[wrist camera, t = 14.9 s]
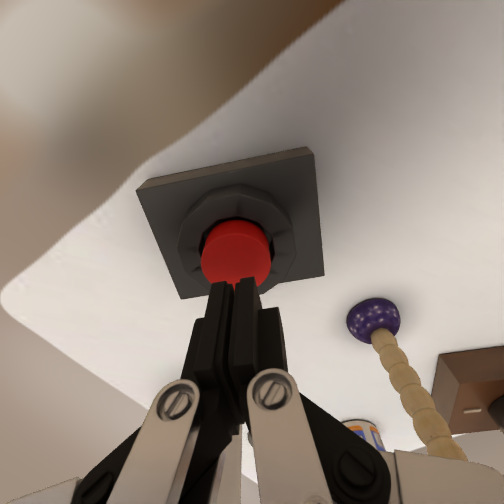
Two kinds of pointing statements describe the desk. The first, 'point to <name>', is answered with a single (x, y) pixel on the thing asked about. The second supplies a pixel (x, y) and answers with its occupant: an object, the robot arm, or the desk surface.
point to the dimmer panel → (469, 388)
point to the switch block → (238, 215)
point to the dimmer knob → (498, 412)
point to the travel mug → (231, 473)
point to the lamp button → (236, 253)
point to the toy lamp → (403, 374)
